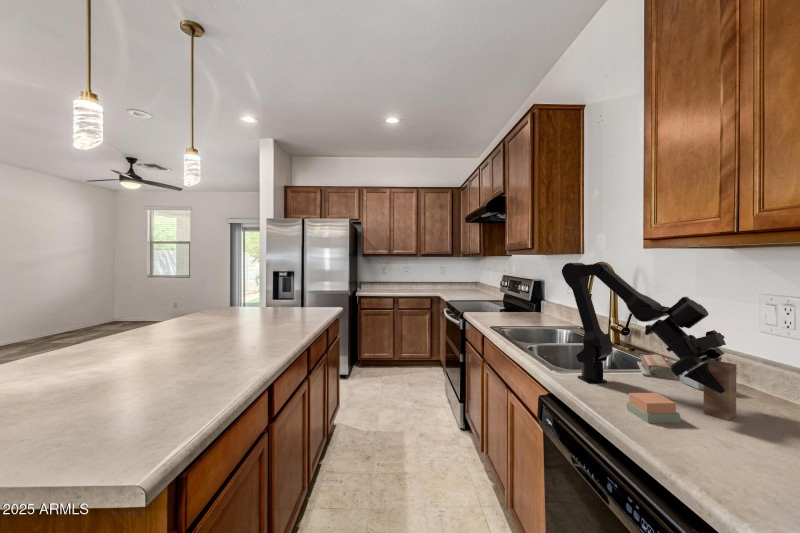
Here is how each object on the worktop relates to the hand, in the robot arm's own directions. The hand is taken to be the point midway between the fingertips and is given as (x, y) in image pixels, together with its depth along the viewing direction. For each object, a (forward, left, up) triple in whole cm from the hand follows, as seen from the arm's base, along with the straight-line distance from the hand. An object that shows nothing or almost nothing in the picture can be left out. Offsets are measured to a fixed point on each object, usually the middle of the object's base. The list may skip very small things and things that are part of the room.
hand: (726, 390), depth 92 cm
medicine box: (-21, +13, -7) cm, 26 cm away
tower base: (-3, -18, -7) cm, 19 cm away
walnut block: (-1, -1, -7) cm, 7 cm away
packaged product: (-37, +14, -7) cm, 40 cm away
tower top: (-3, -18, -5) cm, 19 cm away
